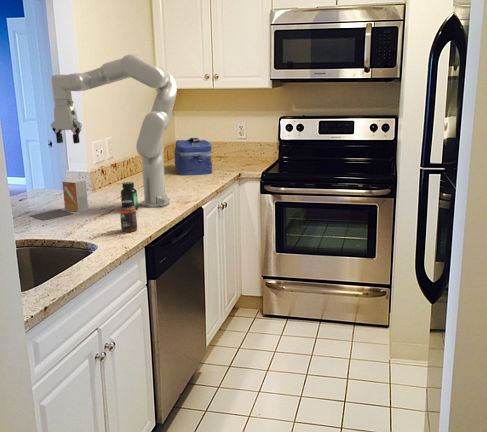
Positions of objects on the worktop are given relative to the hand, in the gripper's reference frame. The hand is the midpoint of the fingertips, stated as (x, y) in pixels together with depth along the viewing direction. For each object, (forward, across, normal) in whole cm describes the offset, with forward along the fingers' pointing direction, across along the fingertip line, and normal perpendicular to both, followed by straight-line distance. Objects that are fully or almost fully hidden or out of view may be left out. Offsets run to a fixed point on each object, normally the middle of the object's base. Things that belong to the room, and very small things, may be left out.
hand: (68, 143), depth 248 cm
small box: (+29, -6, +6) cm, 30 cm away
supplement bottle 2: (+29, -50, +26) cm, 63 cm away
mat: (+28, -3, +18) cm, 34 cm away
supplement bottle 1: (+29, -30, -1) cm, 42 cm away
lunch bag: (+30, -4, -96) cm, 101 cm away
